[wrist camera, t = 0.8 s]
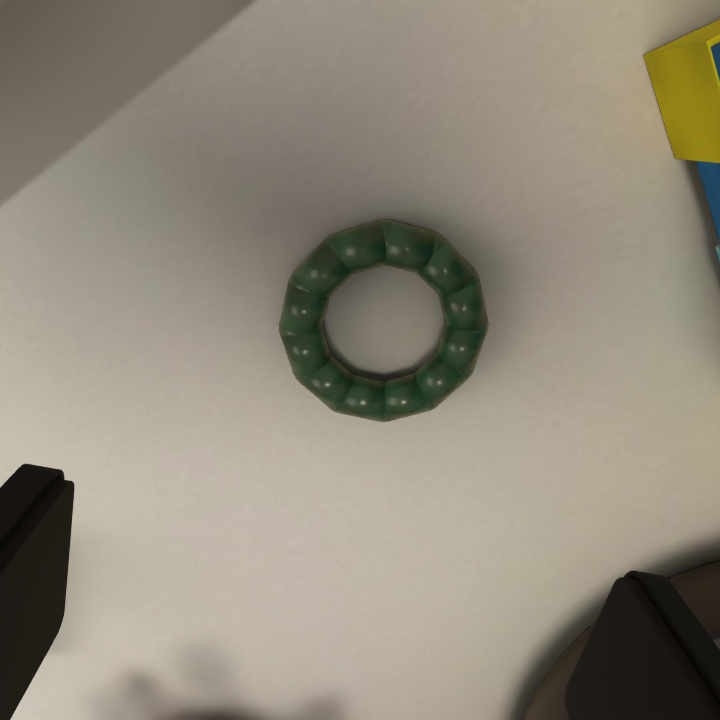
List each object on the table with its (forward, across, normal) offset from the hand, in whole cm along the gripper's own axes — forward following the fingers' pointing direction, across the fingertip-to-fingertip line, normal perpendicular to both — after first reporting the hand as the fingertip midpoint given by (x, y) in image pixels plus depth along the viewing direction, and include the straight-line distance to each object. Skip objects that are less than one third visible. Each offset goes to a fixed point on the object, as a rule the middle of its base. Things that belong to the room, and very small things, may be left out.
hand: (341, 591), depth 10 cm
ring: (+17, -2, 0) cm, 17 cm away
